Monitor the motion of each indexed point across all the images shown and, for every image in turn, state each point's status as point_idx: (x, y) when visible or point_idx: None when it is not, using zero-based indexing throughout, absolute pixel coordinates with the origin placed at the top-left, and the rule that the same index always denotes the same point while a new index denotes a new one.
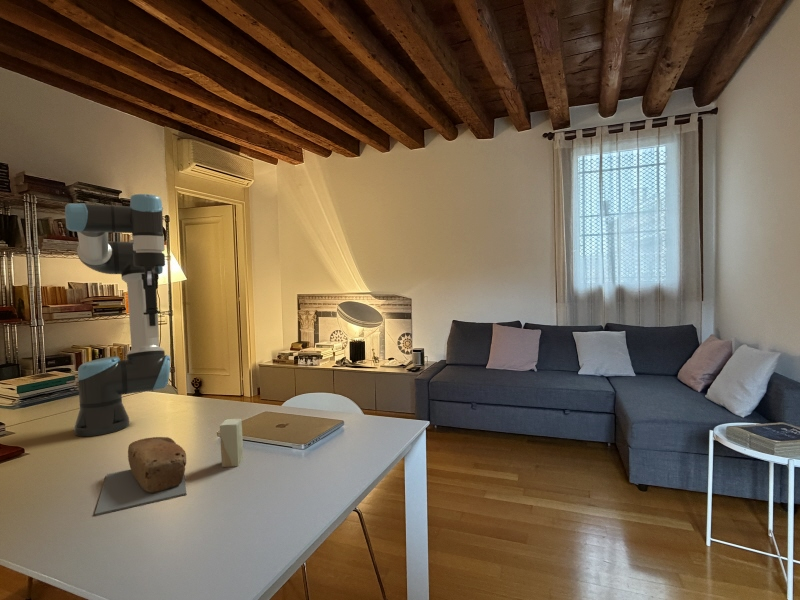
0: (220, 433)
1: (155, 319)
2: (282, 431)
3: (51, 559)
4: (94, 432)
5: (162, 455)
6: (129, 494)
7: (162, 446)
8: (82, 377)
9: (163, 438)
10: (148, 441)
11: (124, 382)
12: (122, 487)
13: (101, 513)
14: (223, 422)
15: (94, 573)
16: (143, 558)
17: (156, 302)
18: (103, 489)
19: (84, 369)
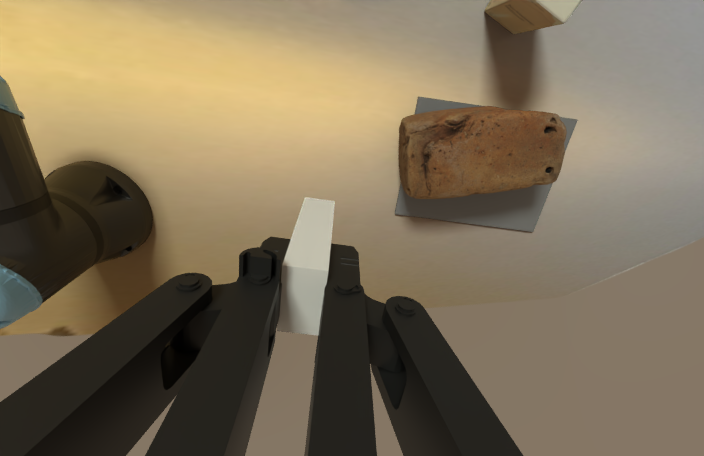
0: (553, 25)
1: (329, 263)
2: None
3: (601, 266)
4: (148, 226)
5: (536, 155)
6: (506, 192)
7: (492, 149)
8: (34, 308)
9: (426, 138)
10: (442, 169)
11: (39, 205)
12: (471, 198)
13: (535, 224)
14: (550, 6)
15: (672, 233)
16: (694, 192)
17: (259, 341)
18: (457, 220)
19: (13, 319)
